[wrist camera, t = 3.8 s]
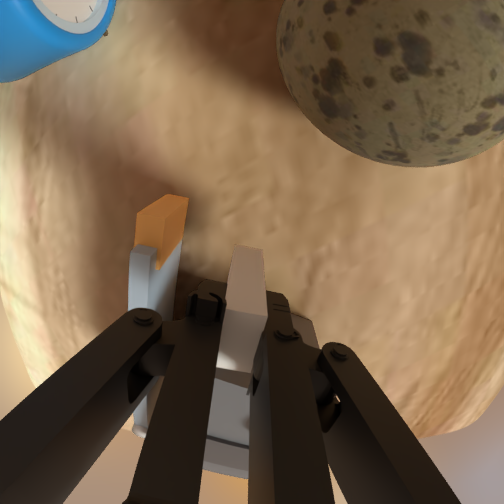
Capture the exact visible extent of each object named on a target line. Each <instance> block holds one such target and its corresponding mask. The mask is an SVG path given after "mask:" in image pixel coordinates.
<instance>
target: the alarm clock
mask: <svg viewBox="0 0 504 504" xmlns="http://www.w3.org/2000/svg"><path fill="white" fill-rule="evenodd" d="M115 5H116V0H0V83H5V82H12V81H16V80H19V79H22V78H24V77H26V76H28V75H30V74H32V73H34V72H36V71H38V70H40V69H42V68H44V67H46V66H48V65H50V64H52V63H54V62H56V61H58V60H60V59H63V58H65V57H67V56H70V55H72V54H74V53H77V52H79V51H82V50H84V49H86V48H88V47H90V46H92V45H93V44H94V43H96V42H97V41H98V40H99V39H100V38H101V37H102V35H104V36H107V35H108V31H107V28H108V26H109V24H110V22H111V19H112V16H113V13H114V9H115Z"/></svg>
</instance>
